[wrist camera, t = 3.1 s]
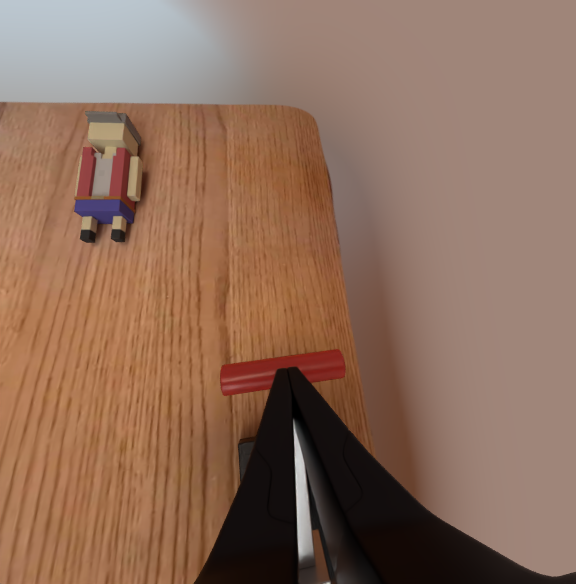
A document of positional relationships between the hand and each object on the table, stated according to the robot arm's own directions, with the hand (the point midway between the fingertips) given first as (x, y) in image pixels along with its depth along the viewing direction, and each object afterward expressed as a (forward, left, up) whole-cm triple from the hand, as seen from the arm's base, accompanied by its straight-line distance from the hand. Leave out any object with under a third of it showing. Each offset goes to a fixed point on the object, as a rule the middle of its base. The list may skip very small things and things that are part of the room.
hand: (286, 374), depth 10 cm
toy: (+23, +16, -14) cm, 31 cm away
